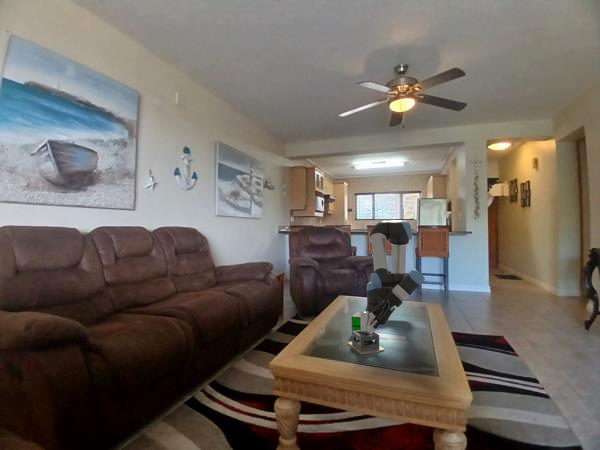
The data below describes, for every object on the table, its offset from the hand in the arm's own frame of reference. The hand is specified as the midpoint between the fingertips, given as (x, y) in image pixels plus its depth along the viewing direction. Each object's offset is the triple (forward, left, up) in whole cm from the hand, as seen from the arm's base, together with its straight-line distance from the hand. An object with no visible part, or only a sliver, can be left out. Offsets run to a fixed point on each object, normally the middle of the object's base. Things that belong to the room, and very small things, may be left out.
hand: (366, 327), depth 145 cm
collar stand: (0, -1, -9) cm, 9 cm away
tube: (0, -1, -8) cm, 9 cm away
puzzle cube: (-19, +8, -10) cm, 23 cm away
